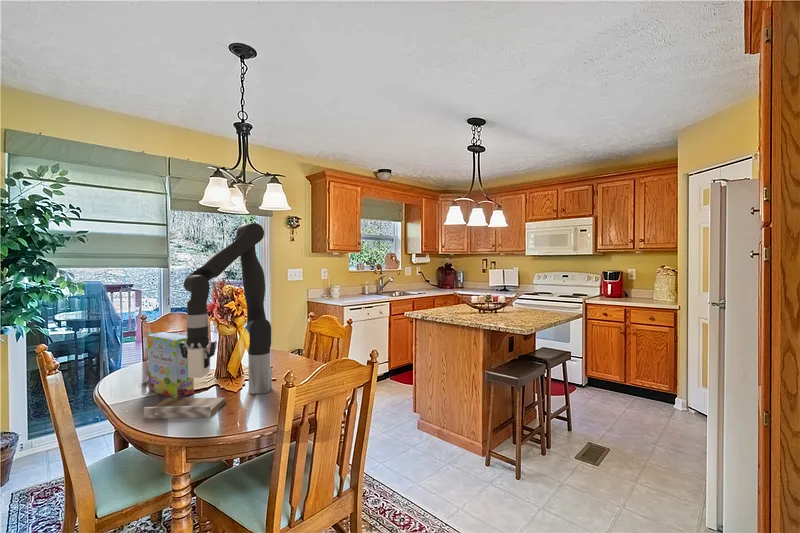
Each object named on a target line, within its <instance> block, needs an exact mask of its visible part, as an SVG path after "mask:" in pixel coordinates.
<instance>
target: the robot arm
mask: <svg viewBox="0 0 800 533" xmlns="http://www.w3.org/2000/svg"><path fill="white" fill-rule="evenodd" d="M235 237H236V240H234V241H233V242H232V243H230V244H229V245H228V246H226V247H224V248H222V249H220V251H218V252H217V253H215V254H214V255H213V256H212V257H211V258H210V259H208V260H207V261H206V262H205V263H204V264H203V265H202V266H200V267H199V268H197V269H195V270H194V271H193V272H191V273H190V274H189V275H188V276H186V278H185V279H184V281H183V288H184V290H185V291H187V292H189V293H190V299H189V300H188V301H187V303H186V313H187V314H186V315H187V316H186V336H187V338H188V339H187V342H182V343H180V344H179V346H180V350H181V354H182V357H183V358H187V359H188V351H187V348H186V347H187V345H188V346H189V347H190V349H193V348H204V349H205V348H206V350H204V349H203V353H204V358H205V359H204V368H207V367H208V366H209V367H210V364H211V363H210V362H211V361H210V358H212V357H213V356H215V353H216V348H217V344H218V342H217V340H214V341H213V340H210V339H209V316H208V300H209V295H210V288H211V286H210V280H213V279H215V278H217V277H218V276H220V275H221V274H222V273H223V272H224V271H225V270H226V269H227V268H228V267H230V266H231V264H233V262H235V261H236V260H237V259H239V257H240V266H241V273H242V274H241V276H242V285H243V286H242V287H243V292H244V298H245V303H246V310H247V311H246V315H247V316H246V318H247V319H246V329H247V332H248V334H249V345H248V346H249V347H248V348H247V350H248V352H247V353H248V359H247V360H248V364H247V365H248V393H249V394H251V395H262V394H269V392H271V390H272V389H273V377H272V376H273V372H272V371H273V370H272V369H273V368H272V367H271V348H272V325H271V322H270V321H269V320H267V318H266V317H267V316H266V312H265V296H266V280H265V279H266V278H265V271H264V269H263V267H262V265H261V263H260V261H259V259H258V256H257V251H256V250H257V249H256V245H257V244H259V243H260V242H261V241H263V239H264V237H265V229H264V228H263V226H262V225H260V224H259V223H257V222H250V223H249V222H248V223H243V224H241V225H239V226H238V227H237V230H236V236H235ZM207 345H209V352H208V348H207Z"/></svg>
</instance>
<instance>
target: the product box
mask: <svg viewBox="0 0 800 533" xmlns="http://www.w3.org/2000/svg"><path fill="white" fill-rule="evenodd" d="M207 348H208V352H210V346H209V344H208V345H207ZM203 349H204V348H193V349H188V378H194V379H195V378H201V379H202V378H203V377H205V376H206V375H207V374H209V373H210V370H211V369H210V365H209V366H208V367H207V368H204V359H205V358H204V353H203ZM204 350H206V348H205V349H204Z"/></svg>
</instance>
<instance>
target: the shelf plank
mask: <svg viewBox="0 0 800 533" xmlns="http://www.w3.org/2000/svg"><path fill="white" fill-rule="evenodd" d="M224 404H226V397H182V398H173V397H170V398H164V399H163V400H161V401H160V402H158V403H157V404H156V405H154V406H144V407H143V419H144V418H148V419H183V418H185V419H188V418H193V419H194V418H211V416H213V415H214V414H215V413H216V412H217V411H218V410H219V409H220V408H221V407H222V406H223V405H224Z"/></svg>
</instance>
